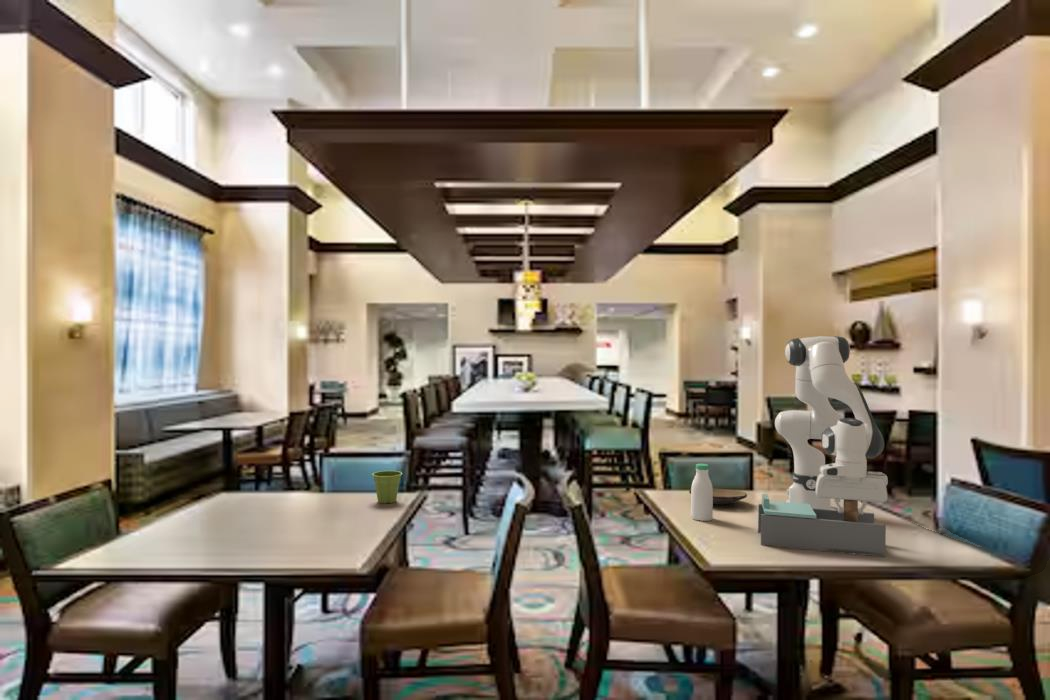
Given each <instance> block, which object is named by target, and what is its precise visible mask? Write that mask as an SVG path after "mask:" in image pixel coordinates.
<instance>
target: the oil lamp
mask: <svg viewBox="0 0 1050 700" xmlns="http://www.w3.org/2000/svg"><path fill="white" fill-rule="evenodd" d="M695 476H696V475H694V476H693V479H692V480H694V478H695ZM712 488H713V487H712ZM688 494H690V495H691V489H689V491H688ZM747 496H748V493H746V492H744V491H741V490H736V489H735V490H734V489H726V488H716V487H715V488H713V505H730V504H733V503H736V502H739V501H741V500H744V499H746V498H747Z"/></svg>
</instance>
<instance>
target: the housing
mask: <svg viewBox="0 0 1050 700" xmlns="http://www.w3.org/2000/svg"><path fill="white" fill-rule="evenodd" d="M812 509H813V511H814V512H815V514H816V519H815V518H803V517H791V516H779V515H767V514H764V510H763V506H762V503H758V515H757V517H758V518H757V519H758V520H757V521H758V522H757V523H758V526H757V527H758V528H757V533H759V532H761V533H760V545H761V546H767V545H771V546H770V547H777V546H780V547H779V548H790V549H798V548H799V549H798V550H808V549H812V550H811V551H818V550H821V551H820V552H828V551H833V552H832V553H838V552H844V553H843V554H848V553H855V554H854V555H858V554H865V555H864V556H868V555H874V556H873V557H878V556H885V557H886V546H887V545H886V542H887V541H886V537H887V536H886V535H887V534H886V533H887V531H886V528H887V525H885V524H882V523H875V513H874V512H868V511H867V512H865V511H863V515H858V522H849V521H843V513H838V509H835V510H830V509H817V508H812Z"/></svg>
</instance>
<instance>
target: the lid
mask: <svg viewBox="0 0 1050 700" xmlns="http://www.w3.org/2000/svg"><path fill="white" fill-rule="evenodd" d="M761 504H762V506H763V510H764V514H767V515H779V516H791V517H803V518H815V519H816V514H815V512H814V511H813V509H812V507H811V506H810V504H803V503H791V502H786V501H779V500H778V501H776V500H775V501H773V500H770V498H769V494H767V493H762V500H761Z"/></svg>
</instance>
